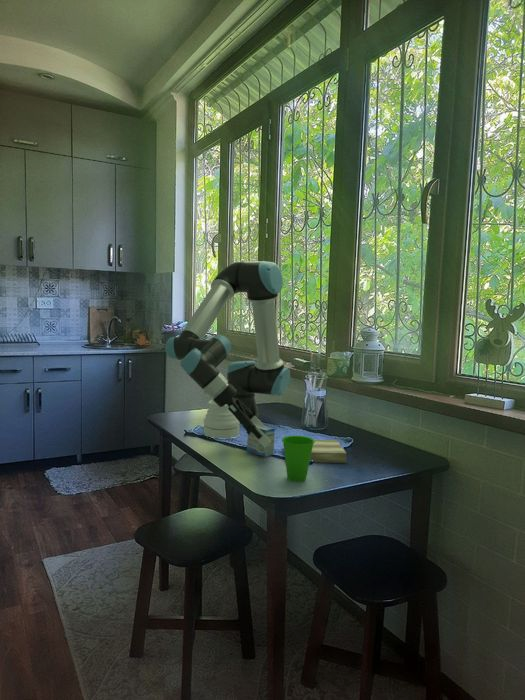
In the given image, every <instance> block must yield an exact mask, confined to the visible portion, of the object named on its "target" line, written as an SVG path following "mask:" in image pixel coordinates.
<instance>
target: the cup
mask: <svg viewBox="0 0 525 700" xmlns="http://www.w3.org/2000/svg"><path fill="white" fill-rule="evenodd" d="M314 440H315V439H314V438H312V437H310V436H305V435H297V434H296V435H295V434H294V435H293V434H292V435H286V436H283V437H282V438H281V441H282V442H283V444H284V449H283V451H284V453H283V454H284V460H285V469H286V477H287V480H289V481H291V482H295V483H299V482H300V483H301V482H305V480H306V479H307V477H308V476H307V475H308V471H309V467H310V463H311V462H310V457H311V452H312V448H313V443H315V441H314Z"/></svg>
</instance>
